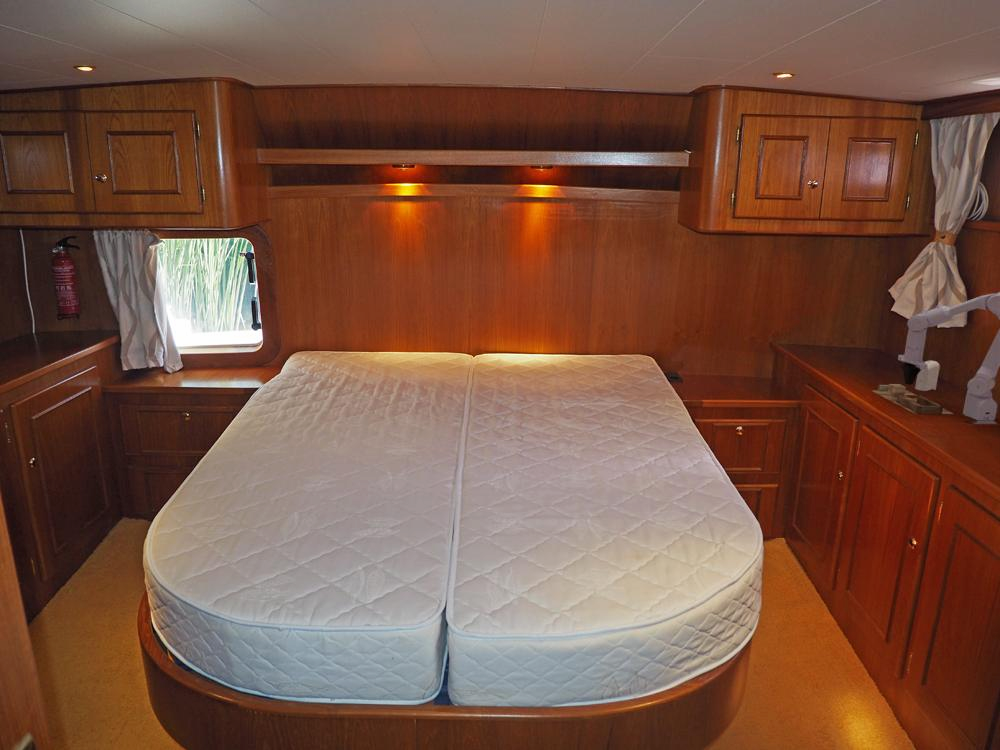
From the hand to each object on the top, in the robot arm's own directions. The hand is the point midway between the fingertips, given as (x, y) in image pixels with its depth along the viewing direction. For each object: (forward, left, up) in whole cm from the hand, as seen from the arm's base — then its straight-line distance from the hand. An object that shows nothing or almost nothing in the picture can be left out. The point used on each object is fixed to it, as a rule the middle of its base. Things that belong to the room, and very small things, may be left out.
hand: (908, 384), depth 258 cm
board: (+1, -1, -8) cm, 8 cm away
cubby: (-8, 0, -6) cm, 10 cm away
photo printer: (+17, -18, -8) cm, 26 cm away
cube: (+7, 0, -7) cm, 9 cm away
